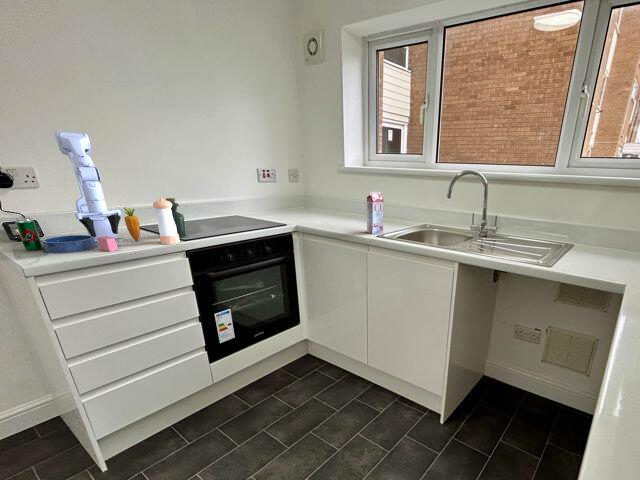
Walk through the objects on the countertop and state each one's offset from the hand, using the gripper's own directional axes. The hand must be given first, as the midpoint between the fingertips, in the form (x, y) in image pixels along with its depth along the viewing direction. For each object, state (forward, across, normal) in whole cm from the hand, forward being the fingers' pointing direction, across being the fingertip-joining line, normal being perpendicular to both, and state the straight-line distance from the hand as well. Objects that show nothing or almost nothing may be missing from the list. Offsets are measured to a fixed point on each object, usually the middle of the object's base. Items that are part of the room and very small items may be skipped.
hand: (104, 235), depth 140 cm
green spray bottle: (+6, +31, +2) cm, 32 cm away
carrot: (+6, +15, +7) cm, 18 cm away
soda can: (+6, -14, +23) cm, 28 cm away
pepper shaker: (+6, +21, -7) cm, 23 cm away
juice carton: (+6, +95, -72) cm, 119 cm away
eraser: (+6, 0, 0) cm, 6 cm away
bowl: (+6, -6, +14) cm, 16 cm away
